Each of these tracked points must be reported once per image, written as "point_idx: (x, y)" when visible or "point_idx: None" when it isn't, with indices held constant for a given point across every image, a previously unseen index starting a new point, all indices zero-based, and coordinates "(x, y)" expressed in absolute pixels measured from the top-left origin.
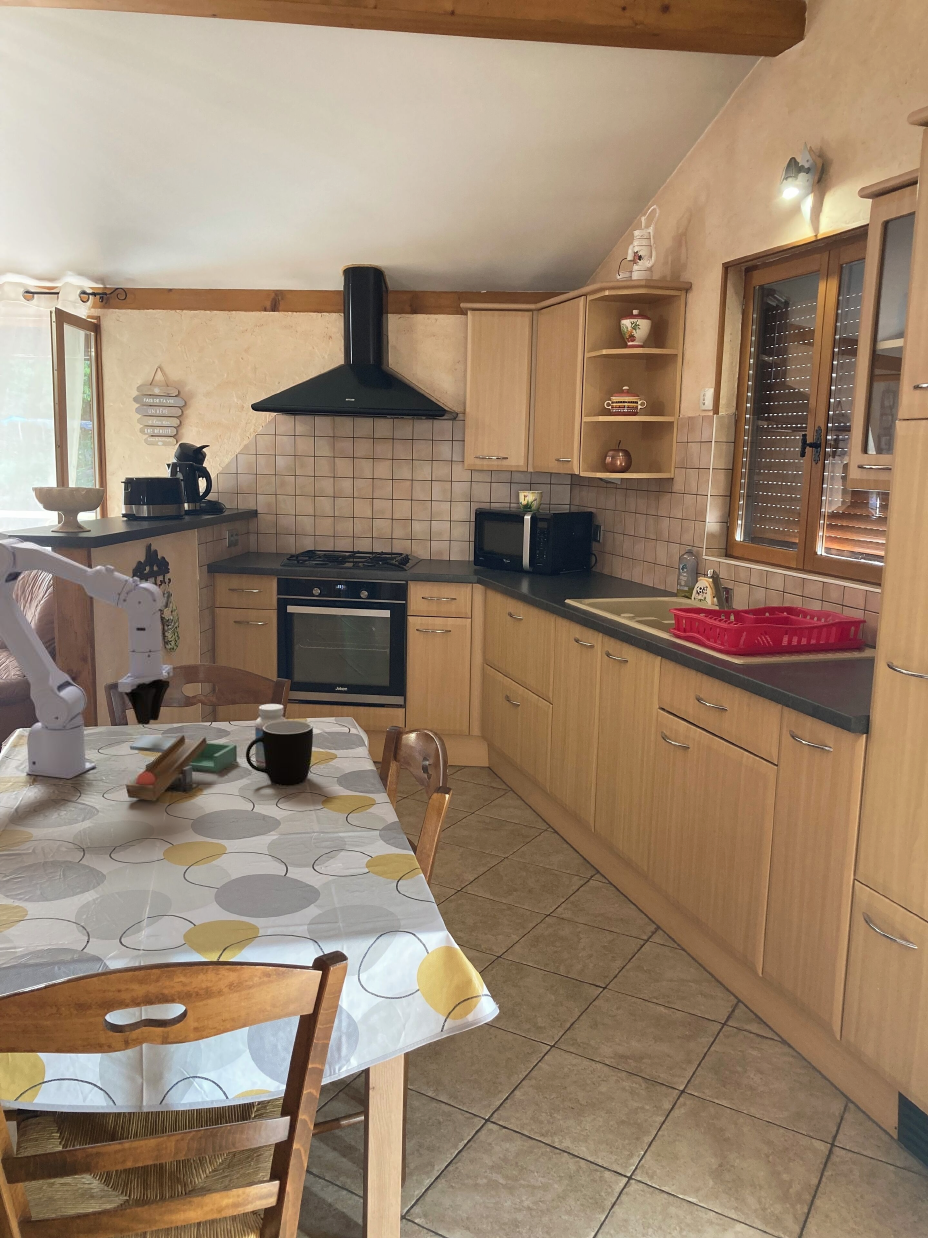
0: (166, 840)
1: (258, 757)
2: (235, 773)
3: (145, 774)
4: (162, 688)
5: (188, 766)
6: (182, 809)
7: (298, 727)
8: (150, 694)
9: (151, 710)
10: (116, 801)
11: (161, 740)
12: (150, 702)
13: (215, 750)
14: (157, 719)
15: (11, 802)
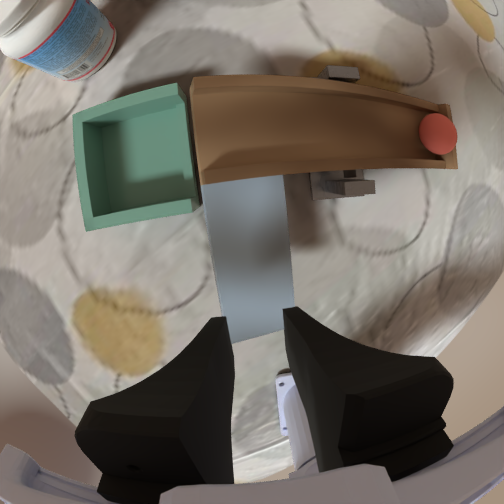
0: (477, 46)
1: (104, 46)
2: (173, 60)
3: (454, 127)
4: (190, 410)
5: (335, 72)
6: (408, 55)
7: None
8: (393, 367)
9: (227, 363)
10: (430, 193)
11: (237, 254)
12: (330, 351)
13: (95, 169)
14: (215, 318)
15: (452, 338)
